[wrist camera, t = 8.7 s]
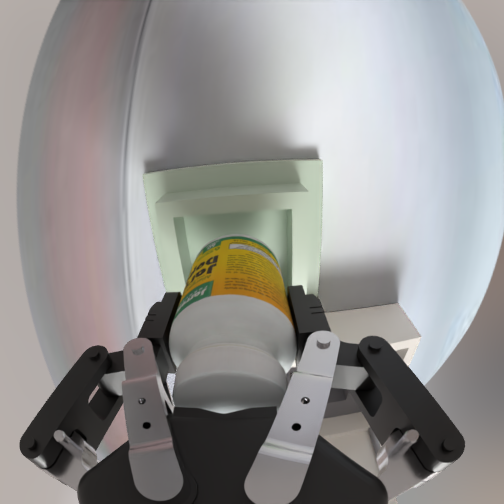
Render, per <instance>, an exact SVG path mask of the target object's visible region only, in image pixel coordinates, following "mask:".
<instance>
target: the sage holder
mask: <svg viewBox="0 0 504 504" xmlns="http://www.w3.org/2000/svg"><path fill="white" fill-rule="evenodd" d="M143 181H144V188H145V194H146V200H147V206H148V211H149V217H150V222H151V227H152V232H153V237H154V242H155V247H156V251H157V256H158V260H159V265H160V269H161V273H162V277H163V281H164V285H165V289H166V292H181V295H183V291H184V288H185V286H186V282H187V280H188V277H189V274H190V272H191V269H192V266H193V263H194V261H195V259H196V257H197V255H198V253H199V251H200V250H201V249H202V248H203V247H204V246H205V245H206V244H207V243H208V242H210V241H212V240H214V239H216V238H218V237H221V236H225V235H230V234H244V235H249V236H252V237H254V238H256V239H259V240H260V241H262V242H263V243H265V244H266V245H267V246H268V247H269V248H270V249H271V250H272V251H273V253H274V254H275V256H276V258H277V260H278V263H279V266H280V270H281V274H282V278H283V282H284V286H285V291H286V295H287V287H288V286H296V285H302V286H303V289H304V292H305V295H306V294H314V295H315V296H316V297H317V298H318V288H319V274H320V257H321V236H322V199H323V160H320V159H291V160H265V161H248V162H234V163H222V164H211V165H202V166H193V167H184V168H176V169H169V170H162V171H155V172H148V173H145V174H143Z"/></svg>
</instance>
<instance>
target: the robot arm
mask: <svg viewBox="0 0 504 504" xmlns="http://www.w3.org/2000/svg"><path fill="white" fill-rule="evenodd" d="M181 297H182V295H181V292H166V293H165V295H164V297H163V300H162V302H156V303H155V304H154V305H153V306H152V307H151V308H150V310H149V313H148V316H147V317H146V319H145V321H144V324H143V326H142V328H141V330H140V333H139V335H138V337H137V338H136V339H133V340H131V341H129V342H128V343H127V344H126V345H125V347H124V349H123V351H118V352H113V353H108V351H107V349H106V348H105V347H103V346H99V345H98V346H93V347H90V348H89V349H87V350H86V351H85V352H84V353H83V354H82V356H81V357H80V358H79V359H78V361H77V362H76V363H75V364H74V366H73V367H72V368H71V370H70V371H69V372H68V373H67V375H66V376H65V377H64V379H63V380H62V381H61V382H60V384H59V385H58V386H57V388H56V389H55V391H54V392H53V393H52V395H51V396H50V397H49V399H48V400H47V401H46V403H45V404H44V406H43V407H42V408H41V410H40V411H39V412H38V414H37V416H36V417H35V418H34V420H33V421H32V422H31V424H30V425H29V427H28V428H27V430H26V431H25V433H24V434H23V436H22V437H21V440H20V450H21V453H22V454H23V455H24V456H25V457H26V458H28V459H29V460H30V461H31V462H33V463H34V464H35V465H36V466H37V467H38V468H40V469H41V470H42V471H44V472H45V473H47V474H48V475H50V476H51V477H53V478H55V479H57V480H59V481H60V482H62V483H63V484H65V485H68V486H69V487H71V488H73V489H74V490H76V491H77V494H78V500H79V504H388V501H390V500H391V499H393V498H395V497H397V496H399V495H400V494H402V493H404V492H405V491H407V490H409V489H410V488H416V487H419V486H422V485H423V484H425V483H426V482H428V481H429V480H431V479H432V478H433V477H435V476H436V475H438V474H439V473H440V472H442V471H443V470H444V469H446V468H447V467H448V466H449V465H451V464H452V463H453V462H455V461H456V460H457V459H458V458H459V457H460V456H461V455H462V454H463V451H464V448H465V441H464V438H463V436H462V435H461V434H460V432H459V430H458V429H457V428H456V427H455V425H454V424H453V422H452V421H451V420H450V419H449V417H448V416H447V415H446V413H445V412H444V411H443V410H442V408H441V407H440V405H439V404H438V403H437V402H436V400H435V399H434V398H433V397H432V395H431V394H430V393H429V391H428V390H427V389H426V388H425V386H424V385H423V384H422V383H421V381H420V380H419V379H418V378H417V377H416V375H415V374H414V373H413V372H412V370H411V369H410V368H409V367H408V366H407V364H406V363H405V362H404V361H403V360H402V358H401V357H400V356H399V355H398V354H397V352H396V351H395V350H394V349H393V348H392V346H391V345H390V344H389V343H388V342H387V341H386V340H385V339H383V338H382V337H379V336H367V337H365V338H363V339H362V340H361V341H360V343H359V344H353V343H346V342H342V341H340V340H339V338H338V336H337V335H335V334H334V333H332V332H331V329H330V326H329V324H328V321H327V318H326V316H325V313H324V310H323V308H322V305H321V302H320V300H319V299H318V298H317V297H316V296H315V295H314V294H306V295H305V292H304V289H303V286H302V285H296V286H288V287H287V299H288V303H289V307H290V312H291V316H292V320H293V324H294V328H295V333H296V338H297V352H296V357H295V363H296V368H297V371H294V372H293V375H292V377H291V380H290V383H289V385H288V388H287V390H286V393H285V395H284V398H283V401H282V403H281V406H280V408H279V410H278V413H277V406H271V407H255V408H247V409H243V410H239V411H235V412H230V413H225V414H222V413H217V412H213V411H209V410H204V409H200V408H188V407H175V406H174V403H173V399H172V396H171V392H170V388H169V385H168V382H167V375H168V373H176V369H177V367H176V365H175V363H174V362H173V360H172V357H171V354H170V350H169V335H170V331H171V327H172V323H173V320H174V318H175V315H176V312H177V309H178V306H179V303H180V300H181ZM97 385H98V387H99V389H98V391H97V392H96V394H95V395H94V397H93V398H92V400H91V401H90V403H89V404H88V399H89V396H90V395H91V393H92V392H93V390H94V389H95V387H96V386H97ZM331 387H332V388H341V389H348V390H349V392H350V394H351V395H352V397H353V399H354V400H355V402H356V404H357V405H358V407H359V409H360V410H361V412H362V414H363V415H364V417H365V419H366V420H367V422H368V424H369V425H370V427H371V429H372V431H373V432H374V434H375V436H376V437H377V439H378V441H379V442H380V444H381V446H382V447H381V448H380V449H379V451H378V453H377V457H376V460H377V463H378V467H379V472H378V475H377V477H376V476H375V475H374V474H372V473H371V472H369V471H368V470H366V469H365V468H363V467H362V466H360V465H359V464H358V463H356V462H355V461H353V460H352V459H351V458H349V457H348V456H347V455H345V454H344V453H342V452H341V451H340V450H338V449H337V448H336V447H335V446H333V445H332V444H331V443H329V442H328V441H327V440H325V439H324V438H323V437H322V436H320V435H319V431H320V428H321V424H322V421H323V417H324V413H325V409H326V406H327V402H328V398H329V393H330V389H331ZM122 404H124V412H125V420H126V426H127V433H128V439H129V440H128V441H127V442H125V443H124V444H123V445H122V446H120V447H119V448H118V449H116V450H115V451H114V452H112V453H111V454H110V455H109V456H107V457H106V458H105V459H103V460H102V461H101V462H99V463H98V462H97V453H96V450H97V448H98V446H99V444H100V442H101V441H102V439H103V437H104V435H105V434H106V432H107V430H108V428H109V427H110V425H111V423H112V421H113V420H114V418H115V416H116V414H117V413H118V411H119V409H120V407H121V406H122Z"/></svg>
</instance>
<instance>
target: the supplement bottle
mask: <svg viewBox="0 0 504 504" xmlns="http://www.w3.org/2000/svg"><path fill="white" fill-rule="evenodd" d="M169 350H170V354H171V357H172V360H173V362H174V363H175V365H176V367H177V371H176V378H175V383H174V388H173V395H172V397H173V402H174V405H175V407H188V408H200V409H204V410H209V411H213V412H217V413H222V414H225V413H230V412H235V411H239V410H243V409H247V408H255V407H271V406H277V413H278V410H279V408H280V406H281V403H282V401H283V398H284V395H285V393H286V390H287V388H288V387H287V375H286V374H287V373H288V371H289V370H290V368H291V367H292V365H293V362H294V360H295V357H296V352H297V338H296V333H295V328H294V324H293V320H292V316H291V312H290V307H289V303H288V299H287V295H286V291H285V286H284V282H283V278H282V274H281V270H280V266H279V263H278V260H277V258H276V256H275V254H274V253H273V251H272V250H271V249H270V248H269V247H268V246H267V245H266V244H265V243H263V242H262V241H260V240H259V239H256V238H254V237H252V236H249V235H244V234H230V235H225V236H221V237H218V238H216V239H214V240H212V241H210V242H208V243H207V244H206V245H205V246H204V247H203V248H202V249H201V250H200V251H199V253H198V255H197V257H196V259H195V261H194V263H193V266H192V269H191V272H190V274H189V277H188V280H187V282H186V286H185V288H184V291H183V295H182V297H181V300H180V303H179V306H178V309H177V312H176V315H175V318H174V320H173V323H172V327H171V331H170V335H169Z"/></svg>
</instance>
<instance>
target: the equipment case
mask: <svg viewBox="0 0 504 504" xmlns="http://www.w3.org/2000/svg"><path fill="white" fill-rule="evenodd" d="M325 316H326V318H327V321H328V324H329V326H330V329H331V332H332V333H334V334H335V335H337V336H338V338H339V340H340V341H342V342H346V343H353V344H359V343H360V341H361V340H362V339H363V338H365V337H367V336H379V337H382V338H383V339H385V340H386V341H387V342H388V343H389V344H390V345H391V346H392V348H393V349H394V350H395V351H396V352H397V354H398V355H399V356H400V357H401V358H402V360H403V361H404V362H405V363H406V364H407V366H408V367H409V365H410V363H411V360H412V358H413V356H414V354H415V351H416V349H417V347H418V344H419V342H420V339H421V335H420V334H419V332H418V331H417V329H416V328H415V326H414V325H413V323H412V322H411V321H410V319H409V318H408V316H407V315H406V313H405V312H404V311H403V309H402V308H401V306H400V305H399V304H398V303H395V304H388V305H382V306H375V307H368V308H360V309H353V310H345V311H336V312H327V313H325ZM294 371H297V368H296V363H295V360H294V362H293V365H292V367H291V368H290V370H289V371H288V373H287V374H286V375H287V387H288V385H289V383H290V376H291V373H292V372H294ZM319 435H320V436H322V437H323V438H324V439H325V440H327V441H328V442H329V443H331V444H332V445H333V446H335V447H336V448H337V449H338V450H340V451H341V452H342V453H344V454H345V455H347V456H348V457H349V458H351V459H352V460H353V461H355V462H356V463H358V464H359V465H360V466H362V467H363V468H365V469H366V470H368V471H369V472H371V473H372V474H374V475H375V476H376V477H377V475H378V472H379V467H378V463H377V460H376V457H377V453H378V451H379V449H380V448H381V445H380V442H379V441H378V439H377V437H376V436H375V434H374V432H373V431H372V429H371V427H370V425H369V424H368V422H367V420H366V419H365V417H364V415H363V414H362V412H361V410H360V409H359V407H358V405H357V404H356V402H355V400H354V399H353V397H352V395H351V394H350V392H349V390H348V389H341V388H332V387H331V389H330V393H329V398H328V402H327V406H326V409H325V413H324V417H323V421H322V424H321V428H320V431H319ZM388 504H397V500H396V497H395V498H393V499H391V500H390V501H388Z"/></svg>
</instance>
